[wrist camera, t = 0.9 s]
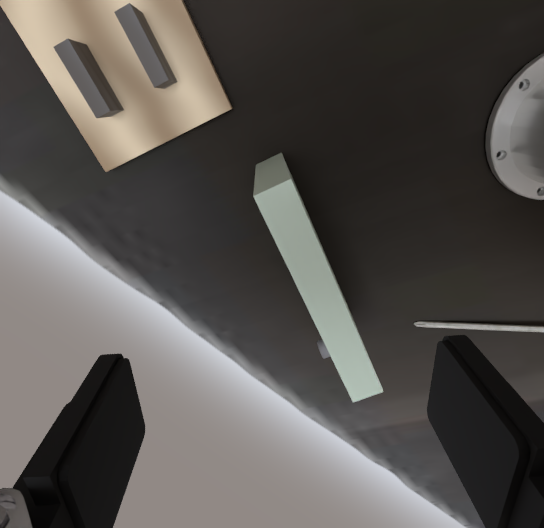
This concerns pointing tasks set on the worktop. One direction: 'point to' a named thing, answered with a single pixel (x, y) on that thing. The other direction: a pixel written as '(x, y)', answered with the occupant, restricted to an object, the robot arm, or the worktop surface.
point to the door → (313, 276)
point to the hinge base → (122, 69)
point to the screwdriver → (480, 326)
